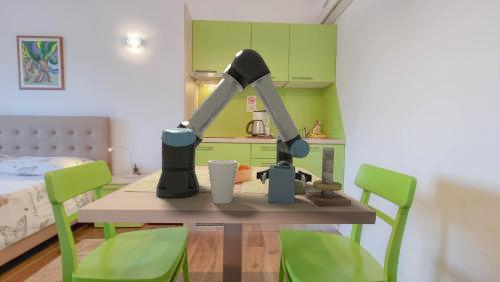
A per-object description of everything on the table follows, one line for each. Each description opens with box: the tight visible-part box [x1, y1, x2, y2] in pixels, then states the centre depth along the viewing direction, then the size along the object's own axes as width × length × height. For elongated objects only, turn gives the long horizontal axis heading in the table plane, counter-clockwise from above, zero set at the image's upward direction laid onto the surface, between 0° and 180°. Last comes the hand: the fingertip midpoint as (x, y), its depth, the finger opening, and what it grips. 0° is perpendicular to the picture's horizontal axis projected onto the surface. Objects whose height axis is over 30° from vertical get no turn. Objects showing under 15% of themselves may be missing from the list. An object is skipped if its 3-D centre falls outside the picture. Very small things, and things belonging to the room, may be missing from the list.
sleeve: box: [267, 164, 296, 205], centre depth 81 cm, size 8×8×11 cm
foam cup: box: [207, 159, 238, 205], centre depth 78 cm, size 10×9×13 cm
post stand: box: [304, 146, 352, 207], centre depth 80 cm, size 11×11×18 cm
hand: (283, 181), depth 80 cm, fingers open, 13 cm apart
